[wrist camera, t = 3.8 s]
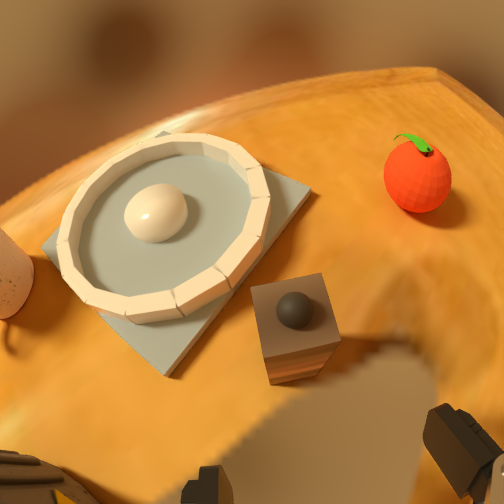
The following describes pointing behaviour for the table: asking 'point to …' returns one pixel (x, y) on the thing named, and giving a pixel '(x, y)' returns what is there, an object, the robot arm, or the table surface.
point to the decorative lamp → (37, 482)
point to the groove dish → (170, 237)
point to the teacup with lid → (13, 276)
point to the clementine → (417, 175)
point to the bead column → (295, 327)
